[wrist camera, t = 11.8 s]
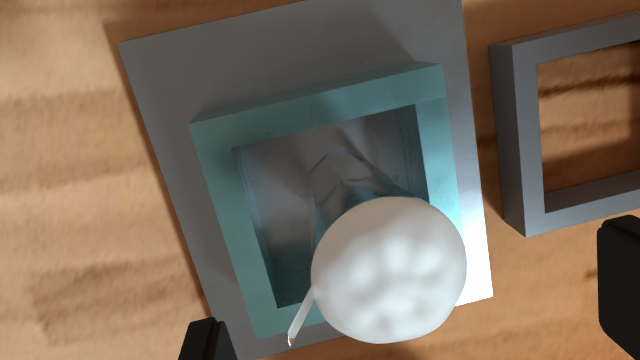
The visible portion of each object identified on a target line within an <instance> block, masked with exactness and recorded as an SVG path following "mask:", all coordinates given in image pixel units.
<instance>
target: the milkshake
mask: <svg viewBox="0 0 640 360" xmlns="http://www.w3.org/2000/svg"><path fill="white" fill-rule="evenodd" d="M307 202H308V215H309V228H310V252H311V286H310V288H309V290H308V292H307V294H306V296H305V298H304V300H303V302H302V304H301V305H300V307H299V309H298V311H297V313H296V315H295V317H294V319H293V321H292V323H291V325H290V327H289V328H288V330H287V333H286V337H287V341H288V346H289V348H291V347H292V345H293V343H294V341H295V339H296V337H297V335H298V333H299V331H300V328H301V326H302V324H303V322H304V320H305V318H306V316H307V314H308V312H309V310H310V308H311V306H312V304H313V302H314V300H315V301H316V304H317V306H318V308H319V310H320V312H321V313H322V315H323V316H324V318H325V319H326V320H327V321H328V322H329V324H330V325H332V326H333V327H334V328H335V329H337V330H338V331H340V332H341V333H343V334H345V335H347V336H349V337H352V338H354V339H357V340H360V341H364V342H368V343H374V344H385V343H393V342H399V341H405V340H410V339H414V338H418V337H421V336H423V335H426V334H428V333H430V332H431V331H433V330H435V329H436V328H438V327H439V326H440V325H441V324H442V323H443V322H444V321H445V320H446V319H447V317H448V316H449V314H450V313H451V311H452V309H453V308H454V306H455V305H456V303H457V302H458V300H459V298H460V297H461V295H462V292H463V290H464V287H465V284H466V279H467V255H466V249H465V245H464V242H463V239H462V237H461V235H460V233H459V231H458V229H457V228H456V226H455V225H454V224H453V223H452V221H451V220H450V219H449V218H448V217H447V216H446V215H445V214H444V213H443V212H441V211H440V210H439V209H437V208H436V207H434V206H432V205H431V204H429V203H427V202H426V201H424V200H423V199H421V198H420V197H418V196H417V195H415V194H413V193H412V192H410V191H409V190H407V189H405V188H404V187H402V186H401V185H400V184H398V183H397V182H396V181H394V180H393V179H392V178H390V177H389V176H388V175H386V174H385V173H384V172H382V171H381V170H380V169H378V168H377V167H376V166H374V165H373V164H372V163H370V162H369V161H367V160H364V159H362V158H360V157H358V156H356V155H354V154H352V153H350V152H346V153H341V154H335V155H330V156H326V157H325V158H324V159H323V160H322V161H321V162H320V163H319V164H318V165H317V166H316V167H315V168H314V169H313V170H312V171H311V172H310V178H309V185H308V191H307Z"/></svg>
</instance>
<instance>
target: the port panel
mask: <svg viewBox="0 0 640 360" xmlns="http://www.w3.org/2000/svg"><path fill="white" fill-rule="evenodd" d="M116 44H117V47H118V50H119V53H120V56H121V59H122V61H123V64H124V67H125V70H126V73H127V76H128V78H129V81H130V84H131V87H132V90H133V93H134V95H135V98H136V101H137V104H138V107H139V110H140V113H141V115H142V118H143V121H144V124H145V127H146V130H147V132H148V135H149V138H150V141H151V144H152V147H153V149H154V152H155V155H156V158H157V161H158V164H159V166H160V169H161V172H162V175H163V178H164V181H165V183H166V186H167V189H168V192H169V195H170V198H171V200H172V203H173V206H174V209H175V212H176V215H177V217H178V220H179V223H180V226H181V229H182V232H183V235H184V237H185V240H186V243H187V246H188V249H189V252H190V254H191V257H192V260H193V263H194V266H195V269H196V271H197V274H198V277H199V280H200V283H201V286H202V288H203V291H204V294H205V297H206V300H207V303H208V305H209V308H210V311H211V314H212V317H215V318H216V320H217V322H219V321H224V322H225V324H226V326H227V329H228V332H229V335H230V338H231V341H232V344H233V347H234V350H235V353H236V356H237V359H238V360H256V359H260V358H263V357H267V356H271V355H275V354H278V353H282V352H286V351H289V350H293V349H297V348H301V347H304V346H308V345H312V344H316V343H319V342H323V341H327V340H330V339H334V338H338V337H342V336H345V334H343V333H341V332H340V331H338V330H337V329H335V328H334V327H333V326H332V325H330V324H329V322H328V321H327V320H326V319H325V318H324V316H323V315H322V313H321V312H320V310H319V308H318V306H317V304H316V301H315V300H314V302H313V304H312V306H311V308H310V310H309V312H308V314H307V316H306V318H305V320H304V322H303V324H302V326H301V328H300V331H299V333H298V335H297V337H296V339H295V341H294V343H293V345H292V347H291V348H289V346H288V341H287V337H286V333H287V330H288V328H289V327H290V325H291V323H292V321H293V319H294V317H295V315H296V313H297V311H298V309H299V307H300V305H301V304H302V302H303V300H304V298H305V296H306V294H307V292H308V290H309V288H310V286H311V252H310V228H309V215H308V202H307V191H308V185H309V178H310V172H311V171H312V170H313V169H314V168H315V167H316V166H317V165H318V164H319V163H320V162H321V161H322V160H323V159H324V158H325V157H326V156H330V155H335V154H341V153H346V152H350V153H352V154H354V155H356V156H358V157H360V158H362V159H364V160H367V161H369V162H370V163H372V164H373V165H374V166H376V167H377V168H378V169H380V170H381V171H382V172H384V173H385V174H386V175H388V176H389V177H390V178H392V179H393V180H394V181H396V182H397V183H398V184H400V185H401V186H402V187H404V188H405V189H407V190H409V191H410V192H412V193H413V194H415V195H417V196H418V197H420V198H421V199H423V200H424V201H426V202H427V203H429V204H431V205H432V206H434V207H436V208H437V209H439V210H440V211H441V212H443V213H444V214H445V215H446V216H447V217H448V218H449V219H450V220H451V221H452V223H453V224H454V225H455V226H456V228H457V229H458V231H459V233H460V235H461V237H462V239H463V242H464V245H465V249H466V255H467V279H466V284H465V287H464V290H463V292H462V295H461V297H460V298H459V300H458V302H457V303H456V305H455V306H457V305H461V304H465V303H468V302H472V301H476V300H480V299H483V298H487V297H491V296H492V286H491V277H490V267H489V258H488V249H487V239H486V230H485V221H484V211H483V202H482V192H481V183H480V174H479V164H478V155H477V145H476V136H475V127H474V117H473V108H472V98H471V89H470V80H469V70H468V61H467V52H466V42H465V33H464V23H463V14H462V5H461V0H305V1H300V2H296V3H291V4H287V5H283V6H278V7H274V8H269V9H265V10H261V11H256V12H252V13H247V14H243V15H239V16H234V17H230V18H225V19H221V20H217V21H212V22H208V23H203V24H199V25H195V26H190V27H186V28H181V29H177V30H173V31H168V32H164V33H159V34H155V35H151V36H146V37H142V38H138V39H133V40H129V41H124V42H120V43H116Z"/></svg>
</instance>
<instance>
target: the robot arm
mask: <svg viewBox="0 0 640 360" xmlns="http://www.w3.org/2000/svg"><path fill="white" fill-rule="evenodd" d="M597 266H598V308H599V322H600V325H601V327H602V329H603V331H604V332H605V333H606V334H607V335H608V336H609V337H610V338H611V339H612V340H613V341H614V342H616V343H617V344H618V345H619V346H620V347H621V348H622V349H624V350H625V351H626V352H627V353H628V354H629V355H630V356H631V357H633V358H634V359H635V360H640V218H638V217H636V216H633V215H625V216H621V217H617V218H613V219H609V220H605V221H604V222H603V224H602V227H601V228H599V229H598V231H597ZM178 360H238V359H237V356H236V353H235V350H234V347H233V344H232V341H231V338H230V335H229V332H228V329H227V326H226V324H225V322H224V321H219V322H217V320H216V318H215V317H210V318H206V319H202V320H197V321H193V322H191V323H190V324H189V326H188V329H187V332H186V336H185V339H184V342H183V345H182V348H181V352H180V355H179V358H178Z"/></svg>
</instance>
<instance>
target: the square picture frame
mask: <svg viewBox="0 0 640 360" xmlns="http://www.w3.org/2000/svg"><path fill="white" fill-rule="evenodd" d="M639 39H640V9H638V10H634V11H629V12H625V13H621V14H617V15H613V16H608V17H604V18H600V19H596V20H592V21H587V22H583V23H579V24H575V25H571V26H566V27H562V28H558V29H554V30H549V31H545V32H541V33H537V34H533V35H528V36H524V37H520V38H516V39H512V40H507V41H503V42H499V43H495V44H491V45H488V46H489V57H490V68H491V79H492V90H493V101H494V112H495V123H496V134H497V146H498V157H499V168H500V179H501V190H502V201H503V212H504V222H506V223H507V224H508V225H510V226H511V227H512V228H514V229H515V230H516V231H518V232H519V233H520V234H522V235H523V236H524V237H526V238H527V237H531V236H535V235H539V234H543V233H547V232H550V231H554V230H558V229H562V228H566V227H569V226H573V225H577V224H581V223H585V222H588V221H592V220H596V219H600V218H604V217H608V216H611V215H615V214H619V213H623V212H627V211H630V210H634V209H638V208H640V169H638V170H634V171H630V172H626V173H622V174H618V175H614V176H611V177H607V178H603V179H599V180H595V181H591V182H587V183H583V184H579V185H576V186H572V187H568V188H564V189H560V190H556V191H552V192H548V193H545V194H544V191H543V173H542V156H541V139H540V121H539V104H538V87H537V69H536V64H539V63H543V62H548V61H552V60H556V59H560V58H564V57H568V56H572V55H577V54H581V53H585V52H589V51H593V50H597V49H601V48H605V47H610V46H614V45H618V44H622V43H626V42H630V41H634V40H639Z"/></svg>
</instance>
